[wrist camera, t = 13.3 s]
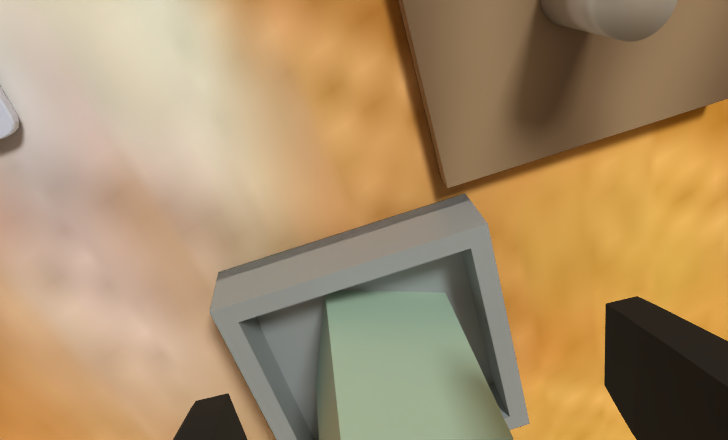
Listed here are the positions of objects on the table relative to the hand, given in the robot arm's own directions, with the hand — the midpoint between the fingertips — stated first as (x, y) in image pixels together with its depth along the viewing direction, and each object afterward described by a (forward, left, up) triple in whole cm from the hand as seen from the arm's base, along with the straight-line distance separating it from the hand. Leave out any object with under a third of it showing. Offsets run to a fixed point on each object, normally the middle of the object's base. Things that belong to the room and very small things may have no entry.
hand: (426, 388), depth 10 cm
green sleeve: (-1, -6, -9) cm, 11 cm away
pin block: (+8, +4, -10) cm, 13 cm away
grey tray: (-1, -6, -10) cm, 12 cm away
